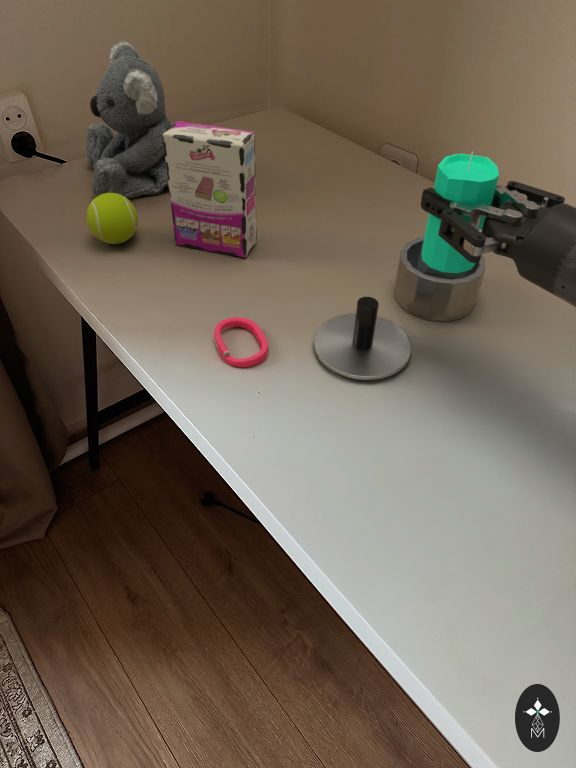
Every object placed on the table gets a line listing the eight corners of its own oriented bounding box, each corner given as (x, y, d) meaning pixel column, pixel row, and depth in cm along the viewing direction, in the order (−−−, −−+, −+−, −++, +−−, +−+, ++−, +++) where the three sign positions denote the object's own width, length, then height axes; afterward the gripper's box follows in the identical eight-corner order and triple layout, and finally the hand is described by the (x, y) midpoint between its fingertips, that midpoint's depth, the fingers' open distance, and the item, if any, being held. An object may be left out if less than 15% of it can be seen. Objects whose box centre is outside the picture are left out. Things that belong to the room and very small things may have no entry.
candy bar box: (258, 241, 93) (257, 130, 82) (246, 259, 90) (243, 146, 78) (187, 228, 95) (177, 118, 84) (173, 245, 92) (160, 133, 80)
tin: (453, 269, 89) (462, 231, 85) (488, 315, 82) (500, 276, 78) (382, 278, 87) (388, 240, 83) (412, 326, 80) (420, 287, 76)
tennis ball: (98, 257, 89) (88, 212, 84) (86, 233, 94) (77, 189, 89) (146, 246, 91) (139, 202, 87) (133, 223, 96) (126, 180, 91)
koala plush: (86, 160, 111) (60, 36, 97) (188, 148, 115) (177, 29, 101) (95, 208, 99) (68, 76, 85) (209, 193, 103) (200, 65, 89)
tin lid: (389, 314, 82) (397, 267, 77) (425, 374, 74) (436, 327, 69) (302, 327, 79) (304, 280, 74) (329, 391, 71) (334, 343, 66)
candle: (444, 237, 73) (467, 134, 65) (487, 260, 70) (516, 154, 61) (409, 255, 70) (428, 149, 62) (452, 280, 67) (478, 171, 59)
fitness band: (207, 330, 78) (207, 321, 77) (252, 320, 80) (252, 311, 79) (228, 373, 73) (227, 363, 72) (275, 361, 75) (275, 351, 74)
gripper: (524, 324, 57) (388, 242, 66) (612, 270, 63) (477, 202, 73) (550, 252, 51) (398, 173, 61) (643, 200, 58) (494, 137, 67)
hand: (442, 189), depth 67 cm, fingers closed on candle, 5 cm apart
